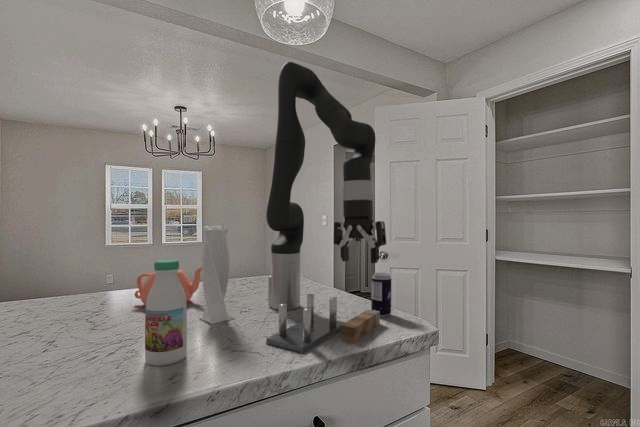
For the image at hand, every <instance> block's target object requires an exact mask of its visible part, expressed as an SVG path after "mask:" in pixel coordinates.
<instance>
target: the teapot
mask: <svg viewBox="0 0 640 427" xmlns="http://www.w3.org/2000/svg"><path fill="white" fill-rule="evenodd" d="M201 274H202V266H200V267H198V268H196V270H195V272H194V278H193V281H192V282H191V281H190V279H189V278H188V276H187V274H186V273H185V272H184V271H183V270H182V269H179V271H178V278H179V281H180V284H181V286H182V288H183V290H184V292H185V296H186V304H187V303H188V302H189V301H190V300H191V298H192V297H193V294H194V293H196V292H197V290H198V289H199V287H200V282H201V281H200V280H201ZM155 275H156V273H155V272H154V271H153V272H151V273H150V272H142V273H141V274H139V275H138V276H137V278H136V284H137V287H138V288H137V289H138V290H136V291H135V292H134V297H135V298H136V299H139V300H141V302H142V303H143V304H144V306H146V301H147V297H148V294H149V292H150V290H151V288H152V286H153V283H154V280H155ZM143 277H148V278H147V279H146V280H145V282H144V284H143V285H142V278H143Z"/></svg>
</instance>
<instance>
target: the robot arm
mask: <svg viewBox="0 0 640 427" xmlns="http://www.w3.org/2000/svg"><path fill="white" fill-rule="evenodd" d="M277 97H278V98H277V100H278V101H277V103H278V104H277V105H278V108H277V114H278V115H277V128H276V136H275V143H274V144H275V146H274V159H273V160H274V161H273V169H272V170H273V171H272V176H271V177H272V180H271V187H270V191H269V196H268V197H269V198H268V202H267V208H266V217H265V218H266V223H267V225H268V227H269V228H270V230H272V231H274V232H278V233H279V234H278V237H277V239H276V240H275V241H274V242H272V244H271V246H270V265H271V266H270V276H268V292H267V293H268V294H267V295H268V301H267V302H268V304H267V306H268V307H270V308H271V309H273V310H278V311H279V304H287V311H291V310H296V309H299V308H300V307H301V247H302V245H303V242H304V241H303V240H304V227H305V224H304V222H305V216H304V215H305V214H304V211H303V209H302V207H301V206H300V205H299V204H298V203H297V202H294V201H293V202H292V201H291V195H292V194H291V193H292V188H293V185H294V182H295V180H296V178H297V176H298V174H299V172H300V171H301V168H302V166H303V164H304V160H305V150H306V137H305V134H304V130H303V127H302V125H301V123H300V119H299V117H298V113H297V106H296V100H297V99H296V98H298V99H303V100H305V101H307V102H309V103H310V104H312V105H313V106H314V110H315V113H316V115H317V117H318V118H319V120H321V122H322V123H323V124H324V125H325V126H326V127H327V128H328V129H329V130H330V131H329V132H330V133H331V135H332V136H333V137H332V138H334V140H335V142H336V143H337V144H338V145H339V146H341V147H343V148H345V149H349V150H354V151H353V156H352V157H351V158H350V157H349V158H347V159H345V161H343V165H342V166H343V167H342V169H343V170H342V171H343V185H342V186H343V188H342V203H343V204H342V205H343V207H342V208H343V210H342V211H343V217H344V222H342V221H334V223H333V244H334V245H337V246H339V247H340V259H341V260H342V262H348V261H349V260H350V251H349V250H350V249H349V248H350V247H349V244H350V243H351V241H353V240H354V239H360V240H361V239H364V240H365V241H366V242H367V243H368V244H369V245H370V247H371V248H370V263H371V264H377V263H378V261H379V260H380V248H381V247H382V246H385V245H387V235H386V224H385V221H384V220H378V221H374V220H373V216H374V211H373V210H374V209H373V208H374V207H373V205H374V202H373V187H372V180H371V178H372V176H371V164H372V159H373V155H374V151H375V146H376V141H377V140H376V133H375V130H374V128H373V127H372V125H371V124H368V123H364V122H361V121H357V120H353V119H352V118H353V117H352V113H351V112H350V111H349V109H347V108H346V107H345V106H344V105H343V104H342V103H341V102H340V101H339V100H338V99H336V97H334V96H333V95H332V94H331V93H330V92H329V91H328V90H327V88H326V87H325V85H324V84H323V83H322V81H321V80H320V78H319V77H318V76H317V74H316V73H315V72H314V71H313V70H312V69H310V68H308V67H306V66H304V65H302V64H298V63H296V62H293V61H287V62H285V63H284V64H283V65H282V66H281V68H280V72H279V76H278V84H277ZM344 229H345V233H343V231H344ZM373 229H374V230H375V232H376V235H375V234H374V232H373V231H372V230H373Z"/></svg>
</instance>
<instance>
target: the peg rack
mask: <svg viewBox="0 0 640 427" xmlns="http://www.w3.org/2000/svg"><path fill="white" fill-rule="evenodd" d="M337 310H338V298H337V297H335V296H331V297H329V318H327V317H326V318H325V317H321V316H316V315H315V294H314V293H307V294H306V307H305V308H303V309H302V314H303V315H302V319H303V320H302V321H300V322H298V323H296V324H293V325H292V326H289V327H288V328H287V318H288V317H287V314H288V313H287V312H288V310H287V304H279V310H278V332H277V333H275V334H273V335H271V336H268V337H266V340H265V341H266V344H267V345H270V346H274V347H277V348H281V349H284V350H285V349H286V350H289V351H292V352H297V353H301V354H304V353H306V352H307V351H308V350H311V349H312V348H314V347H315V346H317V345H318V344H320V343H322V342H323V341H325V340H327V339H329V338H330V337H332V336H333V335H335V334H336V333H338V332H339V331H340V332H341V325H342V324H344V323H346V322H347V321H341V320H337V315H338V314H337V312H338V311H337Z"/></svg>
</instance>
